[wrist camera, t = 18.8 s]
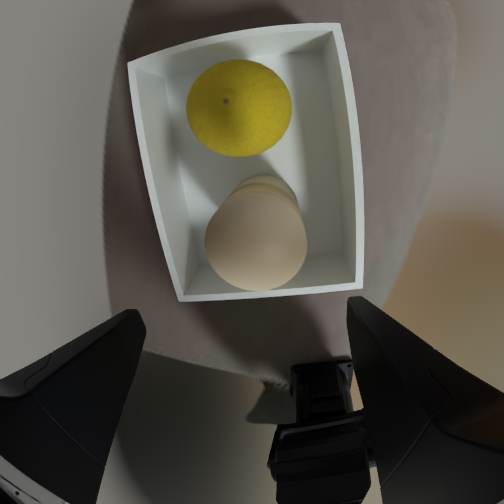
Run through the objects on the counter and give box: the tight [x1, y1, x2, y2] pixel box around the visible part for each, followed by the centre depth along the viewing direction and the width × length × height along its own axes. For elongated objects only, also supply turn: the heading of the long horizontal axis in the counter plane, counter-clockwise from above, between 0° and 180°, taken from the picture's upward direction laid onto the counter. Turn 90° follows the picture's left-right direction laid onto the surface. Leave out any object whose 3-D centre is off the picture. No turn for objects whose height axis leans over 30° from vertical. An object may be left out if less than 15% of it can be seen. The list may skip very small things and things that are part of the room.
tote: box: [127, 23, 364, 302], centre depth 17 cm, size 16×12×5 cm
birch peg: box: [204, 175, 307, 291], centre depth 17 cm, size 5×5×7 cm
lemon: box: [186, 59, 292, 158], centre depth 14 cm, size 6×6×8 cm
